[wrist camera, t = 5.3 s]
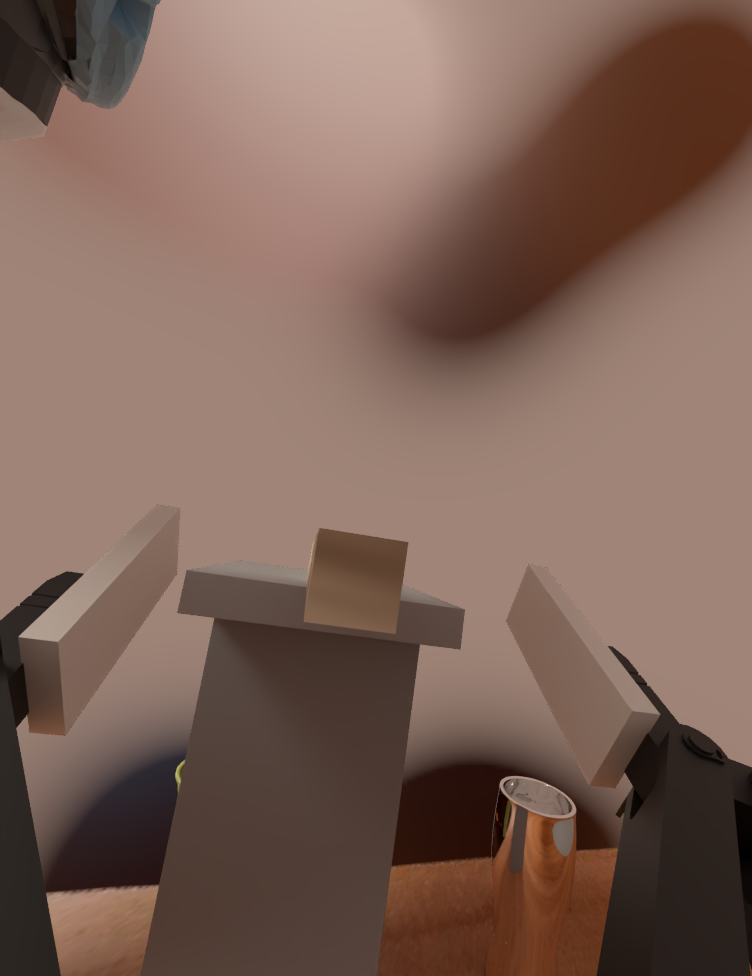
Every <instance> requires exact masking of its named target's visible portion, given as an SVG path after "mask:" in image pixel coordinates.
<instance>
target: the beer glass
mask: <svg viewBox="0 0 752 976" xmlns="http://www.w3.org/2000/svg"><path fill="white" fill-rule="evenodd" d="M575 860H576V807H575V805H574V803H573V802H572V800H571V799H570V798H569V797H568V796H567V795H565V794H564V793H563V792H561V791H559V790H558V789H556V788H555V787H553V786H551V785H549V784H546V783H544V782H541V781H538V780H535V779H531V778H527V777H521V776H510V777H506V778H504V779H502V780H501V782H500V788H499V795H498V800H497V805H496V811H495V818H494V826H493V837H492V876H493V893H494V913H495V914H494V929H493V935H492V940H491V944H490V947H489V951H488V955H487V959H486V964H485V973H486V976H558V950H559V943H560V938H561V934H562V929H563V926H564V922H565V918H566V914H567V910H568V906H569V902H570V897H571V892H572V887H573V882H574V872H575Z"/></svg>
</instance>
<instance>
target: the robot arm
mask: <svg viewBox="0 0 752 976" xmlns="http://www.w3.org/2000/svg"><path fill="white" fill-rule="evenodd" d="M159 3H160V0H0V143H3V142H10V141H16V140H23V139H32V138H40V137H44V135H45V133H46V130H47V125H48V123H49V120H50V117H51V114H52V112H53V109H54V106H55V103H56V100H57V97H58V95H59V92H60V89H61V88H62V87H63V85H65V86H66V87H67V89H68V90H69V91H70V92H72V93H73V94H75V95H76V96H77V97H78V98H79V99H80V100H81V101H84V102H89V103H92V104H94V105H96V106H98V107H101V108H105V109H111V108H114V107H116V106H117V105H118V104H119V103H120V102H121V101H122V99H123V97H124V96H125V95H126V93H127V92H128V90H129V88H130V85H131V83H132V81H133V79H134V77H135V74H136V72H137V70H138V68H139V65H140V63H141V61H142V57H143V53H144V49H145V45H146V42H147V39H148V35H149V33H150V28H151V24H152V19H153V15H154V10H155V7H156V5H157V4H159ZM179 520H180V508H176V507H170V506H164V505H158V504H157V505H156V506H155V507H154V508H153V509H152V510H151V511H150V512H149V513H148V514H147V515H146V516H145V517H144V518H143V519H142V520H141V521H139V522H138V523H137V524H136V525H135V526H134V527H133V528H132V529H131V530H130V531H129V532H128V533H127V534H126V535H125V536H124V537H123V538H122V539H121V540H120V541H118V542H117V543H116V544H115V545H114V546H113V547H112V548H111V549H110V550H109V551H108V552H107V553H106V554H105V555H104V556H103V557H102V558H101V559H100V560H99V561H97V562H96V563H95V564H94V565H93V566H92V567H91V568H90V569H89V570H88V571H87V572H86V573H85V574H82V573H74V572H65V573H62V574H60V575H58V576H56V577H54V578H52V579H50V580H47V581H46V582H45V583H44V584H42V585H41V586H40V587H39V588H38V589H37V590H35V591H34V592H33V593H32V595H31V596H29V597H27V598H26V599H25V600H24V601H23V602H22V603H20V606H17V607H16V608H14V609H13V610H12V611H11V612H10V613H9V614H7V615H6V616H5V617H4V618H3V619H2V620H0V976H61V974H60V969H59V963H58V958H57V952H56V947H55V941H54V936H53V930H52V925H51V919H50V913H49V908H48V902H47V897H46V891H45V886H44V880H43V875H42V869H41V863H40V858H39V853H38V847H37V841H36V836H35V831H34V825H33V819H32V814H31V808H30V802H29V798H28V791H27V786H26V780H25V775H24V769H23V764H22V758H21V753H20V747H19V742H18V736H17V731H16V728H17V726H18V725H19V724H20V723H21V722H22V720H23V719H24V718H25V717H26V715H27V716H28V723H29V732H30V733H31V732H32V733H41V734H51V735H62V736H65V735H66V734H67V733H68V731H69V730H70V728H71V727H72V726H73V724H74V723H75V721H76V720H77V718H78V717H79V715H80V714H81V713H82V711H83V709H84V708H85V707H86V705H87V704H88V702H89V701H90V699H91V698H92V697H93V695H94V694H95V692H96V691H97V689H98V688H99V686H100V685H101V684H102V682H103V681H104V679H105V678H106V676H107V675H108V673H109V672H110V670H111V669H112V667H113V666H114V665H115V663H116V661H117V660H118V659H119V657H120V656H121V654H122V653H123V652H124V650H125V649H126V647H127V646H128V644H129V643H130V641H131V640H132V638H133V637H134V636H135V634H136V633H137V631H138V630H139V628H140V626H141V625H142V624H143V622H144V621H145V620H146V618H147V617H148V615H149V614H150V612H151V611H152V609H153V608H154V607H155V605H156V604H157V602H158V601H159V599H160V598H161V596H162V595H163V593H164V592H165V591H166V589H167V588H168V586H169V585H170V583H171V582H172V580H173V579H174V577H175V576H176V575H177V563H178V562H177V561H178V541H179ZM506 622H507V624H508V626H509V628H510V630H511V632H512V634H513V636H514V638H515V640H516V642H517V644H518V646H519V648H520V650H521V652H522V654H523V656H524V658H525V660H526V662H527V664H528V666H529V668H530V670H531V672H532V673H533V676H534V678H535V680H536V682H537V683H538V686H539V687H540V690H541V692H542V694H543V696H544V698H545V700H546V701H547V703H548V705H549V707H550V709H551V711H552V713H553V715H554V717H555V719H556V721H557V723H558V725H559V727H560V729H561V731H562V733H563V735H564V737H565V739H566V741H567V743H568V745H569V747H570V749H571V751H572V753H573V755H574V757H575V759H576V761H577V763H578V765H579V767H580V769H581V771H582V773H583V775H584V777H585V779H586V781H587V783H588V784H589V786H596V787H607V788H615V787H616V786H617V784H618V783H619V781H620V779H621V778H622V776H623V774H624V773H626V775H627V777H628V779H629V780H630V782H631V783H632V785H633V787H632V789H631V791H630V792H629V794H628V796H627V797H626V798H625V800H624V802H623V803H622V805H621V806H620V808H619V809H618V811H617V813H616V815H617V816H618V817H619V818H620V817H621V816H622V814H623V813H624V819H623V825H622V830H621V836H620V842H619V848H618V854H617V860H616V866H615V871H614V877H613V883H612V889H611V895H610V901H609V907H608V912H607V918H606V924H605V930H604V936H603V942H602V948H601V954H600V959H599V965H598V971H597V976H750V967H749V962H750V965H751V969H752V767H749V766H746V765H744V764H741V763H739V762H736V761H733V760H730V759H728V757H727V756H726V755H725V753H724V752H723V751H722V749H721V748H720V747H719V746H718V745H717V744H716V743H714V742H713V741H712V740H711V739H710V738H709V737H707V736H706V735H704V734H703V733H701V732H700V731H698V730H696V729H694V728H692V727H690V726H687V725H682V724H679V723H678V722H677V720H676V719H675V718H674V716H673V715H672V714H671V713H670V711H669V710H668V709H667V708H666V706H665V705H664V704H663V703H662V701H661V700H660V699H659V698H658V696H657V695H656V694H655V693H654V692H653V690H652V689H651V688H650V686H647V683H646V682H645V680H644V679H643V678H642V677H641V676H640V675H638V672H637V670H636V669H635V668H634V667H633V665H632V664H631V663H630V662H629V660H628V659H626V657H624V656H623V655H622V654H621V653H619V652H618V651H617V650H616V649H615V648H613V647H611V646H607V645H606V644H605V642H604V641H603V640H602V638H601V637H600V636H599V635H598V633H597V632H596V631H595V629H594V628H593V627H592V626H591V624H590V623H589V622H588V620H587V619H586V618H585V616H584V615H583V614H582V613H581V611H580V610H579V609H578V608H577V606H576V605H575V604H574V602H573V601H572V600H571V598H570V597H569V596H568V595H567V594H566V592H565V591H564V589H563V588H562V587H561V585H560V584H559V583H558V582H557V580H556V579H555V578H554V576H553V575H552V574H551V573H550V571H549V570H548V569H547V568H546V567H541V566H534V565H528V566H527V569H526V572H525V574H524V577H523V579H522V582H521V584H520V587H519V589H518V592H517V595H516V597H515V600H514V602H513V605H512V607H511V610H510V612H509V615H508V617H507V620H506Z"/></svg>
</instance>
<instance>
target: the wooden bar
mask: <svg viewBox="0 0 752 976" xmlns="http://www.w3.org/2000/svg"><path fill="white" fill-rule="evenodd" d="M407 547H408V542H403V541H397V540H390V539H384V538H378V537H372V536H366V535H359V534H353V533H346V532H341V531H334V530H328V529H322V528H320V529H319V531H318V533H317V535H316V537H315V539H314V541H313V546H312V551H311V557H310V563H309V568H308V578H307V589H306V601H305V612H304V622H308V623H316V624H323V625H331V626H339V627H346V628H354V629H362V630H369V631H377V632H384V633H392V634H396V627H397V620H398V612H399V605H400V598H401V591H402V583H403V576H404V569H405V561H406V555H407Z"/></svg>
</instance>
